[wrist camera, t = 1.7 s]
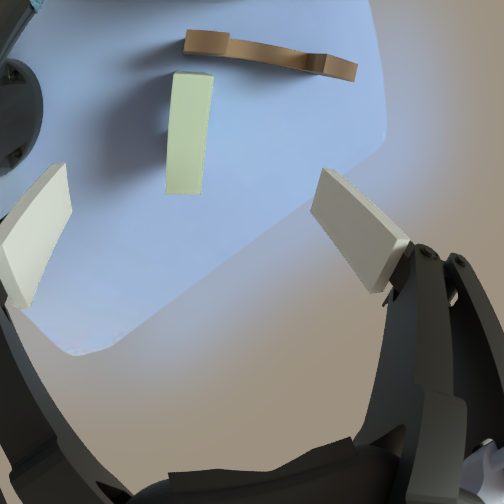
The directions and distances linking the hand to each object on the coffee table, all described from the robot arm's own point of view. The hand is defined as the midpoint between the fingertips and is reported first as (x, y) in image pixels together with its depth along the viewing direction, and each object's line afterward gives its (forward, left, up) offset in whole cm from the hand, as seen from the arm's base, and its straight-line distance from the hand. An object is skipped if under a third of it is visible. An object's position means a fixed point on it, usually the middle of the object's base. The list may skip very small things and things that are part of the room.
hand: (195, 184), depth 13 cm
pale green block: (0, 0, -20) cm, 20 cm away
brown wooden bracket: (+7, +8, -20) cm, 23 cm away
